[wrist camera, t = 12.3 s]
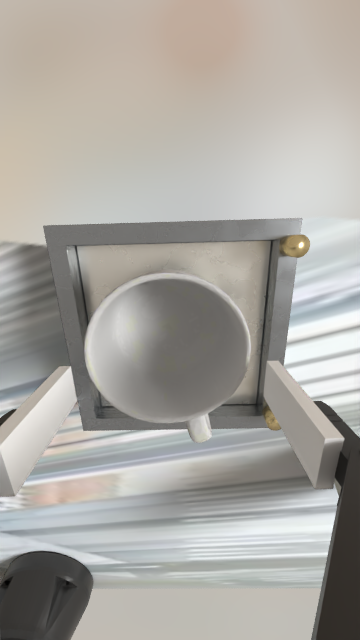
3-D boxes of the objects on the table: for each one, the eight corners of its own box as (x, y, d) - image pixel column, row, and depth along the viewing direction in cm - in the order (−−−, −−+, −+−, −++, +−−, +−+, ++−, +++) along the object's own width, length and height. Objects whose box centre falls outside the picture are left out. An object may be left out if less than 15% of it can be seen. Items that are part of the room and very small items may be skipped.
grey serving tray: (100, 397, 30) (77, 443, 23) (73, 228, 24) (30, 224, 17) (259, 394, 30) (282, 440, 23) (275, 222, 23) (313, 216, 17)
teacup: (104, 270, 21) (61, 287, 14) (225, 253, 21) (249, 261, 13) (134, 399, 26) (115, 466, 18) (235, 388, 25) (258, 452, 18)
